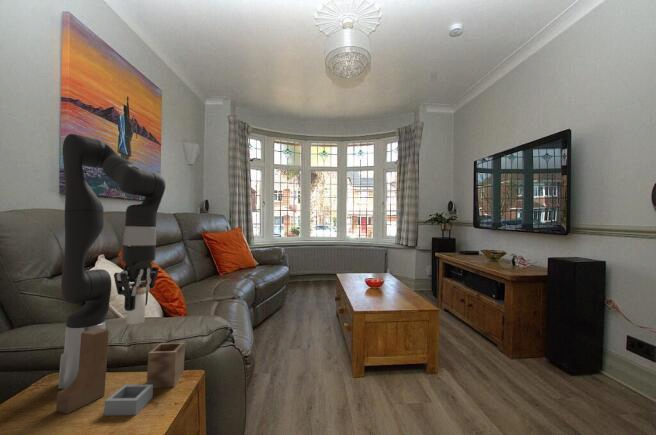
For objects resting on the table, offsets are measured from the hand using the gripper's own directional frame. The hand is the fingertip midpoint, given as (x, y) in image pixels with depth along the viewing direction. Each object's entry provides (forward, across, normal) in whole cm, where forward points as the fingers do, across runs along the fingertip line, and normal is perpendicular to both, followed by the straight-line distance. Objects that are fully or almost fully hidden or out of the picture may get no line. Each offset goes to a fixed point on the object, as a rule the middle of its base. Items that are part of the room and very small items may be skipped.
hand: (136, 307), depth 76 cm
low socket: (+25, 0, 0) cm, 25 cm away
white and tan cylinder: (+4, 0, 0) cm, 4 cm away
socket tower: (+25, -13, +1) cm, 28 cm away
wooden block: (+25, 0, -14) cm, 29 cm away
